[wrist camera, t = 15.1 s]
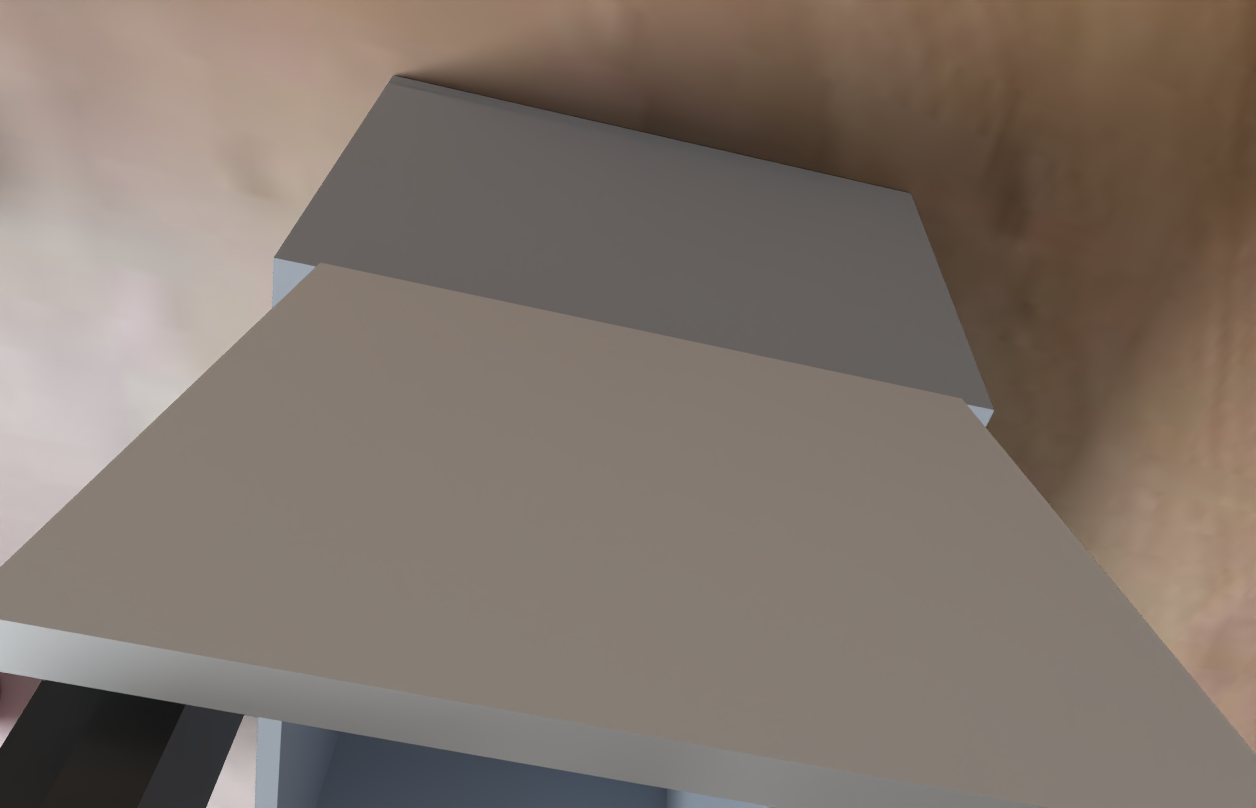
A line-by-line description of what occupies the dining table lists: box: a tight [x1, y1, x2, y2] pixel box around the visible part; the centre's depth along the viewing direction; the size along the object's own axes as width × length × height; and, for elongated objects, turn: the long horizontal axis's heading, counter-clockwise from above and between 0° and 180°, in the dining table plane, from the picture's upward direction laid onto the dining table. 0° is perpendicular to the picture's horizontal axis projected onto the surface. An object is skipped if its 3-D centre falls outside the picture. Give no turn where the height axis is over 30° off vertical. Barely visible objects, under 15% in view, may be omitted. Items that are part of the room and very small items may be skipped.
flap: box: [0, 263, 1256, 808], centre depth 15 cm, size 12×12×1 cm
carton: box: [255, 75, 994, 808], centre depth 32 cm, size 14×26×10 cm, turn 168°
